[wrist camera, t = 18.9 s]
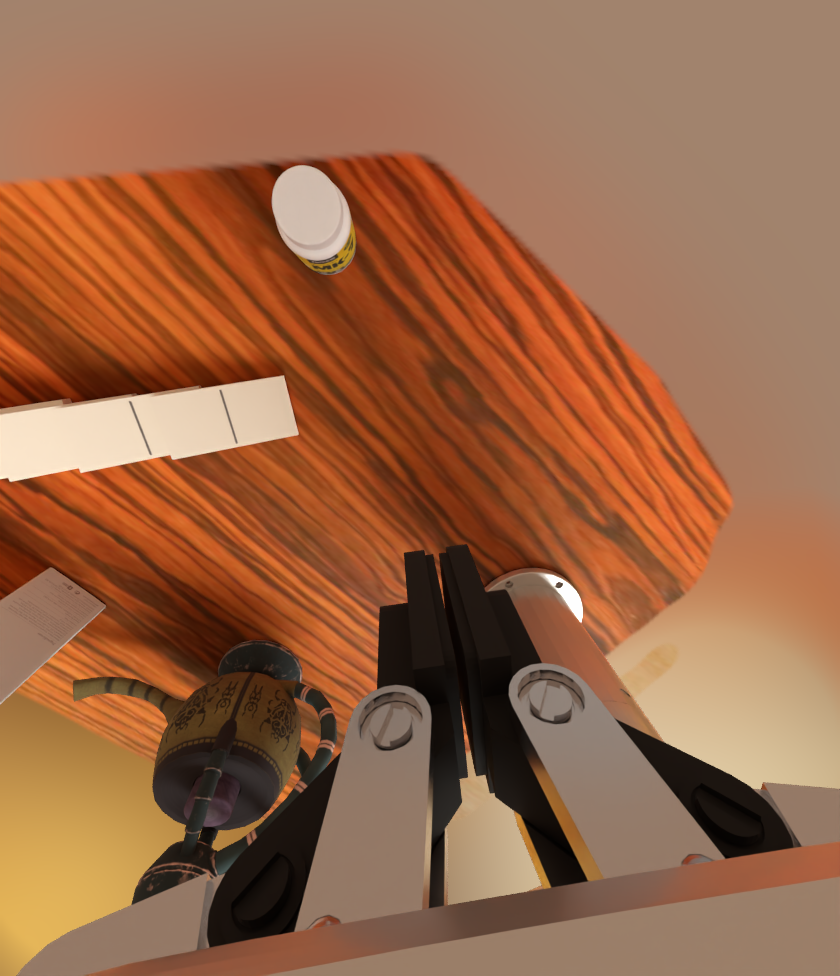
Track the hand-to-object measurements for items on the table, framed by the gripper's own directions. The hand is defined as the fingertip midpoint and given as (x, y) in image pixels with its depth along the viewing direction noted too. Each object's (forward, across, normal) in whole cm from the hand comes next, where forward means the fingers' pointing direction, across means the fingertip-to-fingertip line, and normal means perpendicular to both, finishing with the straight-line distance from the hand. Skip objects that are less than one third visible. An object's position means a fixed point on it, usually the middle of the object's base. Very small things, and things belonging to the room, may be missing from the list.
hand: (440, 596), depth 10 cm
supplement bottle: (+27, +4, -14) cm, 31 cm away
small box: (+27, +37, +15) cm, 48 cm away
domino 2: (+26, +16, -2) cm, 31 cm away
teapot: (+27, +23, +25) cm, 44 cm away
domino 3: (+26, +9, -2) cm, 28 cm away
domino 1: (+26, +22, -2) cm, 34 cm away
